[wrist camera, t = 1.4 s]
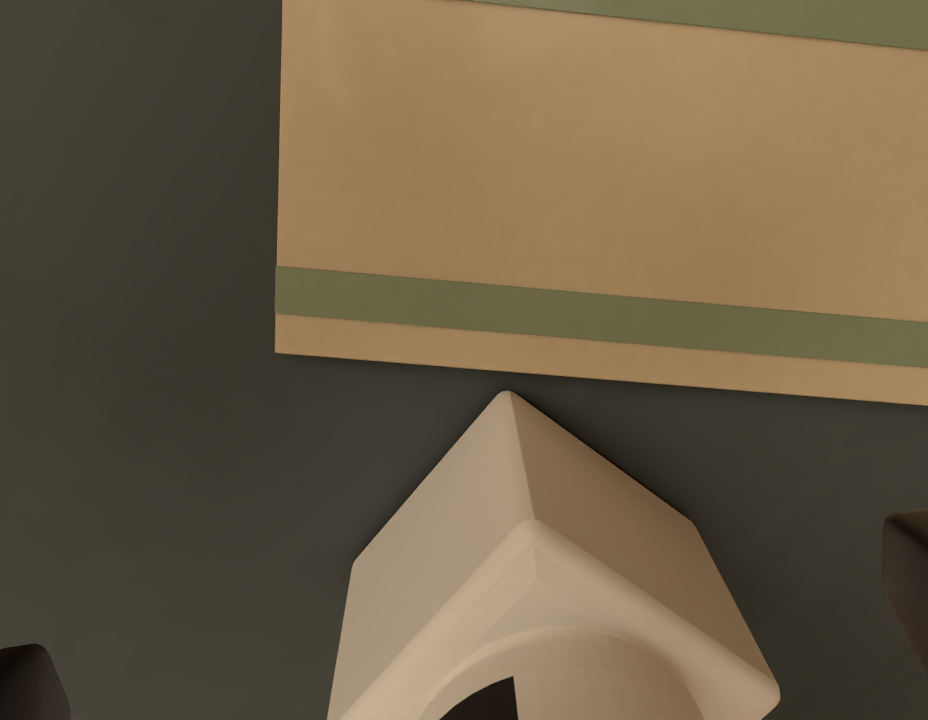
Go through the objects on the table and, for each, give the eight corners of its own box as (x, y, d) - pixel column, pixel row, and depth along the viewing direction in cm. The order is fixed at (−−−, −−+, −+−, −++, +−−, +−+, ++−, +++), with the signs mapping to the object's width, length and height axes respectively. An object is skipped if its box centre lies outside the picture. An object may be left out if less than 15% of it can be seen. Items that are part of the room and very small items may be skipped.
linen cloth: (1166, -33, 20) (1191, -35, 19) (1013, 405, 24) (1029, 416, 23) (289, -134, 19) (284, -140, 18) (278, 345, 22) (273, 354, 22)
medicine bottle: (537, 682, 26) (610, 1158, 15) (348, 563, 25) (272, 999, 14) (697, 521, 25) (914, 929, 13) (504, 380, 23) (566, 712, 12)
